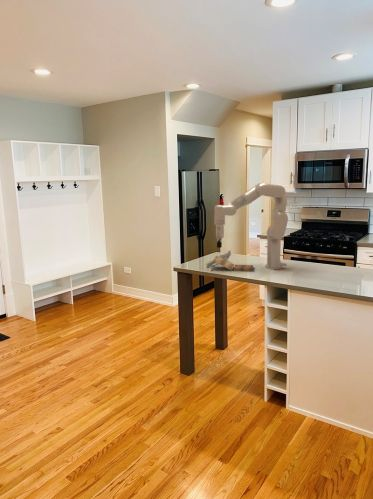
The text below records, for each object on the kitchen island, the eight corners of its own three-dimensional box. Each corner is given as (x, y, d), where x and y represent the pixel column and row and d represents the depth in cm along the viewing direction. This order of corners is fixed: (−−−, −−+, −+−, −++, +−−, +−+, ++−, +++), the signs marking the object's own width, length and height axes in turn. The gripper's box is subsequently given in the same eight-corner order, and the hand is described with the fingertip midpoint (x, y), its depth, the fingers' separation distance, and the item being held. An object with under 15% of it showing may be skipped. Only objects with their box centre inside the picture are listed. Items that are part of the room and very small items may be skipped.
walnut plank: (253, 267, 279) (253, 265, 279) (252, 271, 269) (252, 268, 268) (235, 267, 282) (235, 264, 281) (234, 270, 271) (234, 268, 271)
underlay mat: (254, 268, 280) (254, 267, 280) (254, 272, 267) (254, 271, 267) (213, 266, 286) (213, 266, 286) (210, 271, 274) (210, 270, 274)
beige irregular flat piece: (233, 266, 282) (234, 264, 281) (232, 270, 271) (233, 267, 271) (215, 258, 284) (216, 255, 283) (213, 261, 273) (214, 258, 272)
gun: (231, 259, 305) (230, 250, 303) (208, 273, 285) (207, 263, 282) (229, 259, 307) (228, 250, 304) (206, 272, 286) (205, 263, 284)
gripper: (223, 223, 264) (223, 249, 268) (225, 221, 279) (225, 245, 282) (213, 223, 266) (212, 249, 269) (215, 221, 280) (215, 245, 284)
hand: (219, 247), depth 276 cm, fingers closed
